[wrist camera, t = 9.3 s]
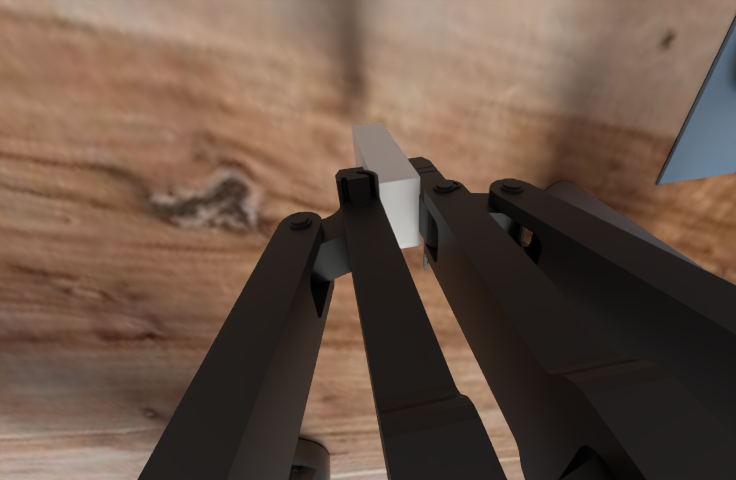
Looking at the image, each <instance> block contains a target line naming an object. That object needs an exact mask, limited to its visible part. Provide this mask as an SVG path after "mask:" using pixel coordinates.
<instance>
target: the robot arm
mask: <svg viewBox="0 0 736 480" xmlns="http://www.w3.org/2000/svg"><path fill="white" fill-rule="evenodd" d="M351 127H352V135H353V144H354V152H355V160H356V168H349V169H343V170H339V171H338V173H337V174H336V175H335V177H336V184H337V190H338V196H339V202H340V208H339V210H338V211H337V212H336V213H335V214H333V215H331V216H329V217H327V218H325V219H321V217H320V216H319V215H318V214H316V213H313V212H298V213H295V214H291V215H290V216H288V217H286V218H285V219H283V220H282V221H281V222H280V224H279V225H278V227H277V229H276V231H275V233H274V234H273V236H272V238H271V240H270V242H269V243H268V245H267V247H266V249H265V251H264V252H263V254H262V256H261V258H260V260H259V261H258V263H257V265H256V267H255V269H254V270H253V272H252V274H251V276H250V278H249V279H248V281H247V283H246V285H245V287H244V288H243V290H242V292H241V294H240V296H239V298H238V299H237V301H236V303H235V305H234V307H233V308H232V310H231V312H230V314H229V316H228V317H227V319H226V321H225V323H224V325H223V326H222V328H221V330H220V332H219V334H218V335H217V337H216V339H215V341H214V343H213V344H212V346H211V348H210V350H209V352H208V353H207V355H206V357H205V359H204V361H203V362H202V364H201V366H200V368H199V370H198V371H197V373H196V375H195V377H194V379H193V380H192V382H191V384H190V386H189V388H188V389H187V391H186V393H185V395H184V397H183V398H182V400H181V402H180V404H179V406H178V407H177V409H176V411H175V413H174V415H173V417H172V418H171V420H170V422H169V424H168V426H167V427H166V429H165V431H164V433H163V435H162V436H161V438H160V440H159V442H158V444H157V445H156V447H155V449H154V451H153V453H152V454H151V456H150V458H149V460H148V462H147V463H146V465H145V467H144V469H143V471H142V472H141V474H140V476H139V478H138V480H330V457H329V454H328V452H327V451H326V450H325V449H324V448H323V447H321V446H320V445H318V444H315V443H313V442H310V441H306V440H302V439H298V437H299V432H300V428H301V424H302V420H303V415H304V411H305V407H306V403H307V399H308V394H309V390H310V386H311V382H312V378H313V373H314V369H315V365H316V361H317V357H318V352H319V348H320V344H321V340H322V335H323V331H324V327H325V323H326V319H327V314H328V310H329V306H330V302H331V298H332V293H333V289H334V279H335V278H338V277H340V276H342V275H345V274H347V273H350V272H352V278H353V284H354V289H355V295H356V301H357V306H358V312H359V318H360V323H361V329H362V335H363V340H364V346H365V352H366V357H367V363H368V369H369V374H370V380H371V386H372V391H373V397H374V403H375V408H376V414H377V420H378V425H379V431H380V437H381V442H382V448H383V454H384V459H385V465H386V471H387V477H388V480H507V478H506V476H505V474H504V471H503V469H502V467H501V464H500V462H499V460H498V457H497V455H496V453H495V451H494V448H493V446H492V444H491V441H490V439H489V437H488V434H487V432H486V430H485V427H484V425H483V423H482V420H481V418H480V416H479V414H478V412H477V410H476V408H475V406H474V404H473V403H472V401H471V400H470V399H469V398H468V396H466V395H463V394H460V392H459V391H458V389H457V387H456V385H455V383H454V381H453V378H452V376H451V373H450V371H449V368H448V366H447V363H446V361H445V358H444V356H443V353H442V351H441V348H440V346H439V343H438V341H437V338H436V336H435V333H434V331H433V328H432V326H431V323H430V321H429V319H428V316H427V314H426V311H425V309H424V306H423V304H422V301H421V299H420V296H419V294H418V291H417V289H416V286H415V284H414V281H413V279H412V276H411V274H410V271H409V269H408V266H407V264H406V262H405V259H404V257H403V254H402V252H401V248H407V247H413V246H419V245H420V233H421V235H422V237H423V239H424V269H427V264H428V262H429V264H430V266H431V268H432V270H433V272H434V274H435V276H436V278H437V280H438V282H439V284H440V286H441V288H442V290H443V292H444V294H445V296H446V298H447V301H448V303H449V305H450V307H451V309H452V311H453V313H454V315H455V317H456V319H457V321H458V323H459V325H460V327H461V329H462V331H463V333H464V335H465V337H466V340H467V342H468V344H469V346H470V348H471V350H472V352H473V354H474V356H475V358H476V360H477V362H478V364H479V366H480V368H481V370H482V372H483V374H484V376H485V379H486V381H487V383H488V385H489V387H490V389H491V391H492V393H493V395H494V397H495V399H496V401H497V403H498V405H499V407H500V409H501V411H502V413H503V415H504V418H505V420H506V422H507V424H508V426H509V428H510V430H511V432H512V434H513V436H514V438H515V441H516V443H517V446H518V450H519V455H520V461H521V468H522V471H523V474H524V478H525V480H736V285H734V284H732V283H730V282H728V281H726V280H724V279H722V278H720V277H718V276H716V275H714V274H712V273H710V272H708V271H706V270H704V269H702V268H700V267H697V266H695V265H693V264H691V263H689V262H687V261H685V260H683V259H681V258H679V257H677V256H675V255H673V254H671V253H669V252H667V251H665V250H663V249H661V248H659V247H657V246H655V245H653V244H651V243H649V242H647V241H645V240H643V239H641V238H639V237H637V236H635V235H632V234H630V233H628V232H626V231H624V230H622V229H620V228H618V227H616V226H614V225H612V224H610V223H608V222H606V221H604V220H602V219H600V218H598V217H596V216H594V215H592V214H590V213H588V212H586V211H584V210H582V209H580V208H578V207H576V206H574V205H572V204H570V203H568V202H565V201H563V200H561V199H559V198H557V197H555V196H553V195H551V194H549V193H547V192H545V191H543V190H541V189H539V188H537V187H535V186H533V185H531V184H529V183H527V182H524V181H521V180H516V179H510V178H509V179H503V180H497V181H495V182H493V183H492V184H491V185H490V188H489V193H470V192H469V191H468V190H467V188H466V187H465V186H464V185H463V184H461V183H460V182H457V181H454V180H446V179H445V178H444V177H443V176H442V175H441V173H440V172H439V171H438V170H437V169H436V167H434V165H433V164H432V163H431V161H430V160H427V159H425V158H423V157H417V158H410V159H407V157H406V156H405V155H404V153H403V152H402V150H401V149H400V147H399V146H398V145H397V143H396V142H395V140H394V139H393V137H392V136H391V135H390V133H389V132H388V130H387V129H386V127H385V126H384V124H383V123H382V122H379V123H372V124H365V125H358V126H351ZM525 228H527V229H528V230H530V231H531V232H533V236H532V240H531V243H530V245H529V244H527V243H525V242H523V241H522V240H523V236H524V232H525Z"/></svg>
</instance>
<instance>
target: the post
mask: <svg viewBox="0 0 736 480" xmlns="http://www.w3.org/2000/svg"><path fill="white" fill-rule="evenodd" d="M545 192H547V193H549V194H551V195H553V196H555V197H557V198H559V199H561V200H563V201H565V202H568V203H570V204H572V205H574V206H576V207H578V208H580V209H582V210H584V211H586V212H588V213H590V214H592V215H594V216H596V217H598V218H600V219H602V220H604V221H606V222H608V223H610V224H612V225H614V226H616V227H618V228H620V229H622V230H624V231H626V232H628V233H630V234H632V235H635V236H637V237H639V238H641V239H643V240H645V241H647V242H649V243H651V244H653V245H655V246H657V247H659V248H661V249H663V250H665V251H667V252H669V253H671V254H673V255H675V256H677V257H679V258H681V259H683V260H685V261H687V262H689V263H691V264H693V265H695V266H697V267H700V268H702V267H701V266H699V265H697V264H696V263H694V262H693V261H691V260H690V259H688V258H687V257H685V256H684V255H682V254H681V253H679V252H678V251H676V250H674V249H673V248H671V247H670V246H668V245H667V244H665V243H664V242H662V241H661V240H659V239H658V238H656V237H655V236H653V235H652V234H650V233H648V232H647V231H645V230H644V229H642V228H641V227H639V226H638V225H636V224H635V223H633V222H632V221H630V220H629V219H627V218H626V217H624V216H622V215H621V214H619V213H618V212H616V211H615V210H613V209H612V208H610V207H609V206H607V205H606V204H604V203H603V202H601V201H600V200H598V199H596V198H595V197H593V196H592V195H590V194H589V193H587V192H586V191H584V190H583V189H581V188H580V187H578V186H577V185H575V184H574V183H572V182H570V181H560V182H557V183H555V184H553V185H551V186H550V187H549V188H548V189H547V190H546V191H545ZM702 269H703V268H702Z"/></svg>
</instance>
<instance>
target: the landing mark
mask: <svg viewBox="0 0 736 480" xmlns="http://www.w3.org/2000/svg"><path fill="white" fill-rule="evenodd" d="M731 173H736V18H735V20H734V22H733V24H732V26H731V28H730V30H729V33H728V35H727V37H726V39H725V41H724V43H723V45H722V47H721V49H720V51H719V53H718V55H717V57H716V60H715V62H714V64H713V66H712V68H711V70H710V72H709V74H708V76H707V78H706V80H705V82H704V85H703V87H702V89H701V91H700V93H699V95H698V97H697V99H696V101H695V103H694V105H693V107H692V109H691V112H690V114H689V116H688V118H687V120H686V122H685V124H684V126H683V128H682V130H681V132H680V134H679V137H678V139H677V141H676V143H675V145H674V147H673V149H672V151H671V153H670V155H669V157H668V159H667V162H666V164H665V166H664V168H663V170H662V172H661V174H660V176H659V178H658V180H657V182H656V184H657V185H662V184H668V183H674V182H681V181H687V180H693V179H699V178H706V177H712V176H718V175H724V174H731Z"/></svg>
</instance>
